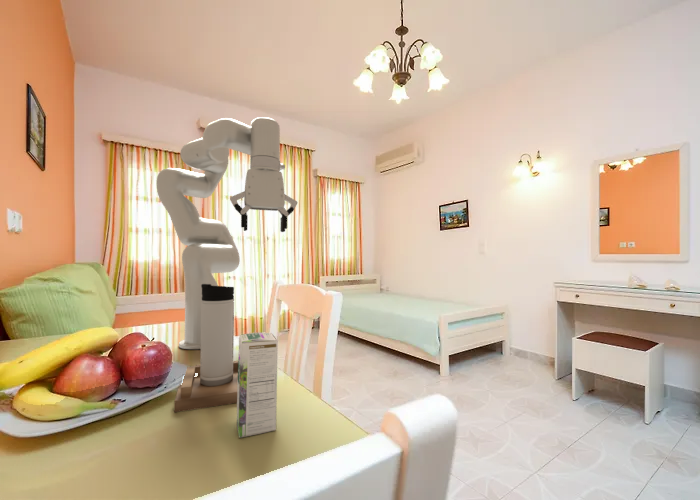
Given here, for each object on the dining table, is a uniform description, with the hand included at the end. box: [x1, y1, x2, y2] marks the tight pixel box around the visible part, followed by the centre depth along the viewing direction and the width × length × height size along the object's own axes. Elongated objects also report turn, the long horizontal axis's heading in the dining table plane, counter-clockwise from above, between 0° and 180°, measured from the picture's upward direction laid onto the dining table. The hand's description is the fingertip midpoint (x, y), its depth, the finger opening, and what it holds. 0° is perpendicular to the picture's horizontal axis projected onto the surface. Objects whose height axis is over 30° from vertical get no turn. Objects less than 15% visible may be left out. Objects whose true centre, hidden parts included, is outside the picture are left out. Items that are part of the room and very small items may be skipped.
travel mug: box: [199, 284, 235, 386], centre depth 67 cm, size 6×7×20 cm
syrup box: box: [236, 332, 279, 438], centre depth 53 cm, size 6×6×14 cm
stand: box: [173, 360, 238, 413], centre depth 66 cm, size 14×14×4 cm
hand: (264, 231), depth 86 cm, fingers open, 9 cm apart
